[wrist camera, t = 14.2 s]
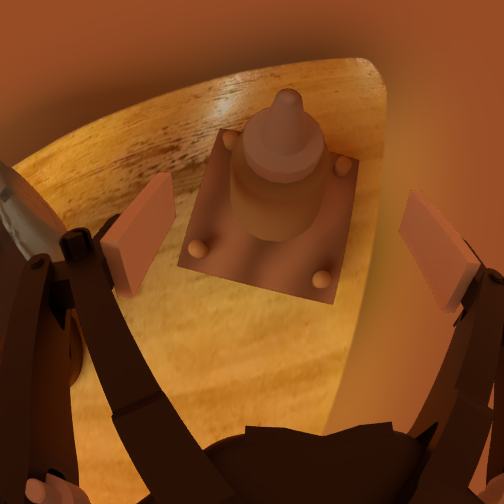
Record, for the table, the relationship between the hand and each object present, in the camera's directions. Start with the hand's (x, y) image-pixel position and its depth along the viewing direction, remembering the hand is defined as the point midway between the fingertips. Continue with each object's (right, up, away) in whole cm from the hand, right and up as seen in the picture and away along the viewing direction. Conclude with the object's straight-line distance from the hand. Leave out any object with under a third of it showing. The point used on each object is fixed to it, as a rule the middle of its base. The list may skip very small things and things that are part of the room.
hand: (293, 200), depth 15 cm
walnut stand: (0, +1, +21) cm, 21 cm away
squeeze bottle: (0, +2, +15) cm, 15 cm away
